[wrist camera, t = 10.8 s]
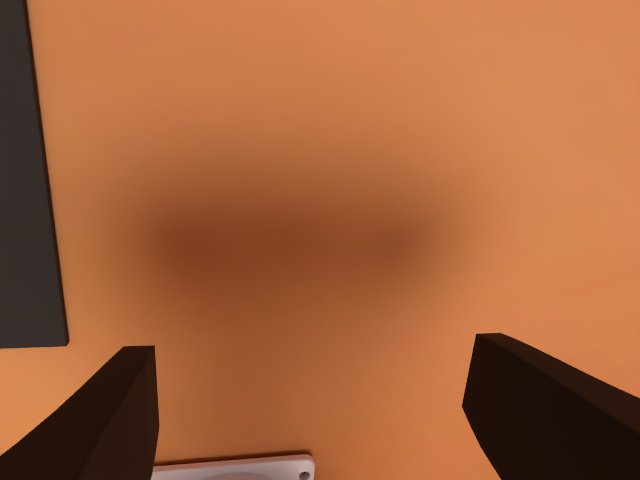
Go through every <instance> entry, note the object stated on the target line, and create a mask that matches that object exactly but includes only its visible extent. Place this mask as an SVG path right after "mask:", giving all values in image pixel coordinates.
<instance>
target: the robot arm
mask: <svg viewBox="0 0 640 480" xmlns="http://www.w3.org/2000/svg"><path fill="white" fill-rule="evenodd" d="M462 408H463V410H464V412H465V415H466V417H467V419H468V421H469V424H470V426H471V428H472V430H473V432H474V434H475V436H476V438H477V440H478V442H479V444H480V446H481V448H482V450H483V451H484V453H485V455H486V456H487V458H488V459H489V461H490V463H491V464H492V466H493V467H494V469H495V470H496V472H497V474H498V475H499V477H500V478H501V480H640V398H638V397H636V396H633V395H631V394H629V393H627V392H625V391H622V390H620V389H618V388H616V387H614V386H611V385H609V384H607V383H605V382H603V381H601V380H599V379H597V378H595V377H593V376H591V375H589V374H586V373H584V372H582V371H580V370H578V369H576V368H574V367H572V366H570V365H568V364H566V363H564V362H562V361H560V360H558V359H556V358H554V357H552V356H550V355H548V354H546V353H544V352H542V351H540V350H538V349H536V348H534V347H532V346H530V345H528V344H525V343H523V342H521V341H519V340H517V339H514V338H512V337H509V336H507V335H504V334H501V333H486V334H476V337H475V342H474V348H473V353H472V358H471V363H470V368H469V373H468V378H467V383H466V388H465V393H464V398H463V403H462ZM158 433H159V412H158V395H157V377H156V360H155V345H153V346H125V347H122V348H121V349H120V350H119V351H118V352H117V353H116V354H115V355H114V356H113V357H112V358H111V359H110V360H109V361H108V362H106V363H105V364H104V365H103V366H102V367H101V368H100V369H99V370H98V371H97V372H96V373H95V374H94V375H93V376H92V377H91V378H90V379H89V380H88V381H87V382H86V383H85V384H84V385H83V386H82V387H81V388H79V389H78V390H77V391H76V392H75V393H74V394H73V395H72V396H71V397H70V398H69V399H68V400H66V401H65V402H64V403H63V404H62V405H61V406H60V407H59V408H58V409H57V410H56V411H54V412H53V413H52V414H51V415H50V416H49V417H47V418H46V419H45V420H44V421H43V422H41V423H40V424H39V425H38V426H37V427H35V428H34V429H33V430H32V431H31V432H30V433H28V434H27V435H26V436H25V437H24V438H22V439H21V440H20V441H19V442H18V443H16V444H15V445H14V446H13V447H11V448H10V449H9V450H7V451H6V452H5V453H4V454H2V455H1V456H0V480H314V470H315V464H314V459H313V457H312V456H310V455H308V454H300V455H288V456H276V457H264V458H252V459H239V460H227V461H215V462H203V463H191V464H178V465H166V466H154V460H155V454H156V447H157V440H158ZM302 472H306V473H304V474H301V473H302Z"/></svg>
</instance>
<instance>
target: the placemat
mask: <svg viewBox="0 0 640 480" xmlns="http://www.w3.org/2000/svg"><path fill="white" fill-rule="evenodd" d="M68 343H69V340H68V332H67V324H66V316H65V308H64V300H63V292H62V284H61V277H60V269H59V261H58V253H57V245H56V237H55V229H54V221H53V213H52V205H51V197H50V189H49V182H48V174H47V166H46V158H45V150H44V142H43V134H42V126H41V118H40V110H39V102H38V94H37V87H36V79H35V71H34V63H33V55H32V47H31V39H30V31H29V23H28V15H27V7H26V0H0V349H1V348H29V347H58V346H67V345H68Z"/></svg>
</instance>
